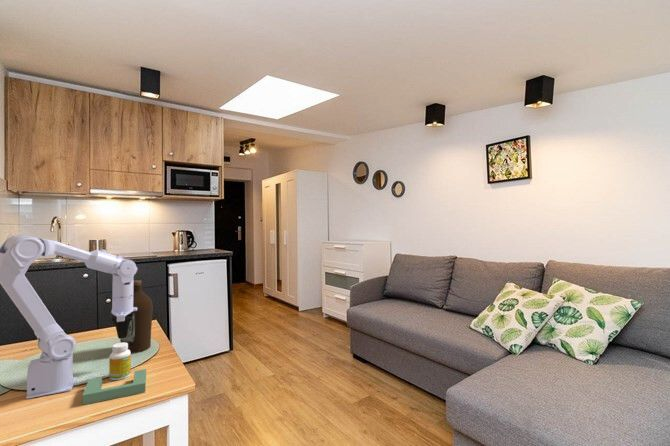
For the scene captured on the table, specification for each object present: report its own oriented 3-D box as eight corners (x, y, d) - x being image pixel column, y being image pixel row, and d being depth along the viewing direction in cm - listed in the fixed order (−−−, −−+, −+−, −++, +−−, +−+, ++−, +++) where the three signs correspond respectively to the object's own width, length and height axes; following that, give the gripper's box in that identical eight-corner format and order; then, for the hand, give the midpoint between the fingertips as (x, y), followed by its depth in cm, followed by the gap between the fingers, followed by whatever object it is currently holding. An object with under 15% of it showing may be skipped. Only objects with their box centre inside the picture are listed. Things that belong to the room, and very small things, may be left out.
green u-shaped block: (82, 405, 84) (82, 395, 84) (89, 387, 92) (89, 379, 92) (145, 391, 91) (145, 383, 91) (146, 377, 99) (146, 368, 99)
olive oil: (136, 341, 126) (137, 277, 126) (159, 345, 123) (159, 279, 123) (111, 352, 116) (111, 282, 116) (134, 356, 113) (135, 284, 113)
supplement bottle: (122, 381, 96) (123, 348, 96) (104, 380, 96) (105, 348, 96) (134, 372, 102) (134, 341, 102) (117, 372, 102) (117, 341, 102)
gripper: (136, 299, 101) (135, 343, 101) (138, 290, 114) (138, 328, 114) (108, 301, 97) (108, 347, 98) (114, 291, 110) (113, 331, 110)
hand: (122, 337), depth 105 cm, fingers closed
